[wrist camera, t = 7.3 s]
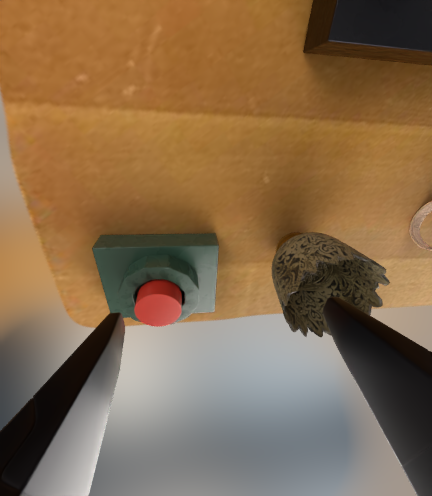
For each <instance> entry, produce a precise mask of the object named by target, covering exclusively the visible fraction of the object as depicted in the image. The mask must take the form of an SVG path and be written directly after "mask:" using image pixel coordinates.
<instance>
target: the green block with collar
mask: <svg viewBox="0 0 432 496" xmlns="http://www.w3.org/2000/svg"><path fill="white" fill-rule="evenodd" d="M92 250H93V253H94V257H95V260H96V264H97V267H98V271H99V274H100V278H101V282H102V285H103V289H104V292H105V296H106V299H107V303H108V306H109V310H110V313H116V312H120V313H121V314H122V317H123V318H127V317H131V318H132V319H134V320H136V321H139V322H141V321H140V320H139V319H138V318H137V317H136V315H135V312H134V308H135V304H136V300H137V295H138V292H139V289H140V288H141V286H142V285H144V284H145V283H147V282H149V281H151V280H158V279H164V280H168V281H171V282H173V283H175V284H176V285H177V286H178V287H179V288H180V290H181V293H182V312H181V315H180V317H179V318H178V319H177V320H176V321H175V322H173V323H171V324H174V323H176V322H178V321H181V320H183V319H185V318H187V317H189V316H190V315H191V313H206V312H214V311H215V296H216V281H217V266H218V250H219V244H218V241H217V237H216V234H215V233H205V234H143V235H100V237H99V238H98V240H97V242H96V243H95V245H94V246H93V248H92Z"/></svg>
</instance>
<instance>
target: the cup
mask: <svg viewBox="0 0 432 496" xmlns="http://www.w3.org/2000/svg"><path fill="white" fill-rule="evenodd" d="M385 273H386V269H385V268H384V267H382V266H381V265H379V264H378V263H376V262H375V261H373V260H371V259H369V258H368V257H366V256H365V255H363V254H361V253H360V252H358V251H356V250H355V249H353V248H352V247H350V246H348V245H346V244H345V243H343V242H341V241H339V240H338V239H336V238H333V237H331V236H328V235H326V234H322V233H300V232H294V233H290V234H287V235H285V236H284V237H283V238H282V239H281V240H280V241H279V242H278V244H277V247H276V254H275V256H274V259H273V262H272V278H273V283H274V286H275V289H276V292H277V295H278V298H279V301H280V304H281V307H282V310H283V314H284V317H285V319H286V322H287V323H288V324H289V326H290V328H291V330H292V331H293V332H296V331H297V330H298V329H300V331H301V332H302V333H303V335H304V336H305V337H306V336H307V332H308V328H309V330H310V331H311V332H314V333H315V334H316V335H318V336H319V337H322V336H323V331H324V332H325V333H327V334H329V335H331V332H330V330H329V328H328V325H327V323H326V321H325V318H324V316H323V308H324V305H325V303H326V300H327V298H329V297H339V298H341V299H343V300H344V301H346V302H348V303H349V304H351V305H353V306H354V307H356V308H358V309H360V310H361V311H363V312H365V313H366V314H368V315H370V313H371V308H372V306H373V307H381V306H382V299H381V298H380V297H379V296H378V295H377V293H376V292H375V290H376V288H378V289H379V285H378V283H381V284H383V285H384V286H385V285H388V284H389V283H390V282H389V280H388V279H387V278H386V277H385V275H384V274H385Z"/></svg>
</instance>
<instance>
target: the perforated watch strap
mask: <svg viewBox="0 0 432 496" xmlns="http://www.w3.org/2000/svg"><path fill="white" fill-rule="evenodd" d="M419 210H420V211H419ZM419 210H418V211H417V213H416V214H415V215H414V217H413V219H412V221H411V223H410V225H411V226H410V229H409V230H410V231H409V232H410V235H411V238H412V240H413V241H414V242H415V244H416V245H418V246H419V247H421V248H423V249H426V250H430V251H432V247H430V246H429V245H427V244H426V243H425V242H424V241H423V239H422V238H421V236H420V226H421V224H422V222H423V220H424V218H425V217H426V216H427V215H428V213H430V212H431V211H432V201H431V202H429V203H427V204H425V205H424V206H422V207H421V208H420V209H419Z"/></svg>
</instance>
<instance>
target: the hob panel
mask: <svg viewBox="0 0 432 496" xmlns="http://www.w3.org/2000/svg"><path fill="white" fill-rule="evenodd" d="M303 52H304V53H312V54H322V55H332V56H343V57H353V58H363V59H373V60H383V61H394V62H404V63H414V64H424V65H432V0H313V4H312V9H311V14H310V19H309V24H308V30H307V35H306V40H305V45H304V50H303Z"/></svg>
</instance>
